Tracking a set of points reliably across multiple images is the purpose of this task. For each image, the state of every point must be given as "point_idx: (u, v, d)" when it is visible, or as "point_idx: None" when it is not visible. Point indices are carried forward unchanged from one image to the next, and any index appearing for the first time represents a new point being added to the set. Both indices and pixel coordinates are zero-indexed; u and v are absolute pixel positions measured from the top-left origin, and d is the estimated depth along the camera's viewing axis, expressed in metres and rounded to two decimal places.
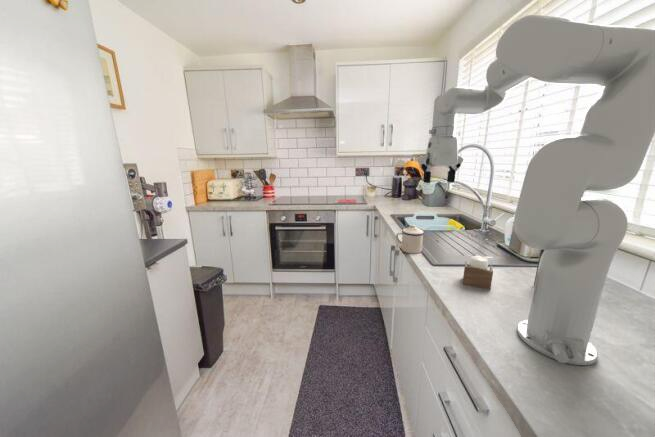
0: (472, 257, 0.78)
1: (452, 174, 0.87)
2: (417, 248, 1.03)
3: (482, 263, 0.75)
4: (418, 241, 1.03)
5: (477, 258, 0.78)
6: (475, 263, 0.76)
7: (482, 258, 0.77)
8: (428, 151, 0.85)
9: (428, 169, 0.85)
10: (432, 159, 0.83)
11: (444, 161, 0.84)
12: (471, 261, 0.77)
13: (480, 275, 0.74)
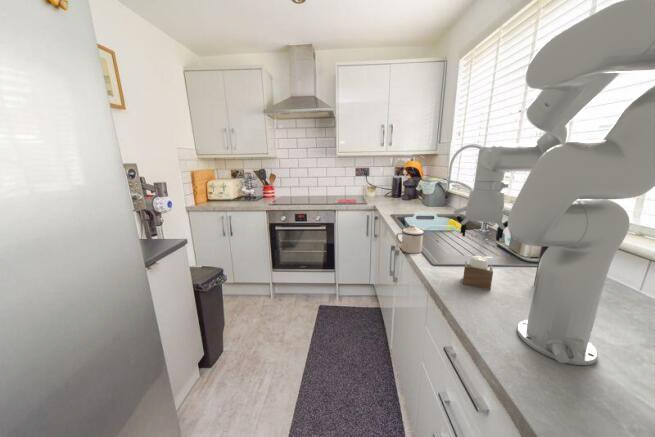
0: (472, 257, 0.78)
1: None
2: (417, 248, 1.03)
3: (482, 263, 0.75)
4: (418, 241, 1.03)
5: (477, 258, 0.78)
6: (475, 264, 0.76)
7: (482, 258, 0.77)
8: (503, 207, 0.75)
9: None
10: None
11: None
12: (471, 261, 0.77)
13: (480, 275, 0.74)
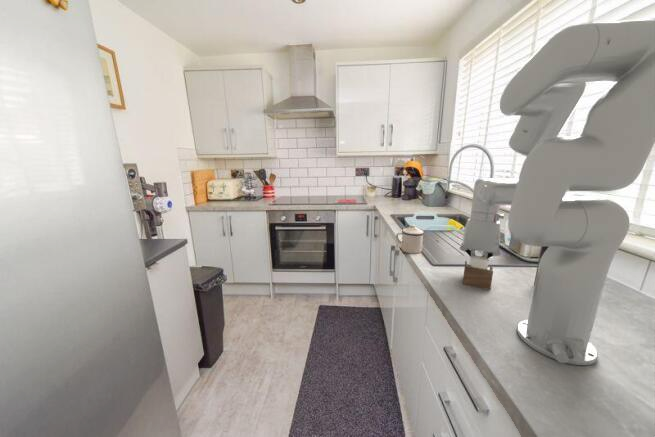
0: (472, 257, 0.78)
1: None
2: (417, 248, 1.03)
3: (482, 263, 0.75)
4: (418, 241, 1.03)
5: (477, 258, 0.78)
6: (475, 263, 0.76)
7: (482, 258, 0.77)
8: None
9: None
10: None
11: None
12: (471, 261, 0.77)
13: (480, 275, 0.74)
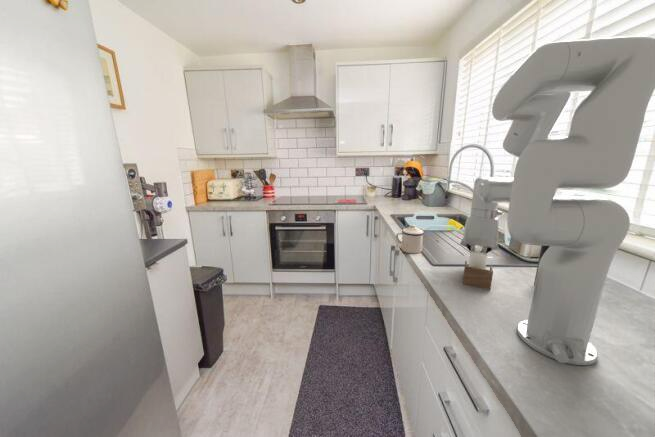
0: (472, 252, 0.83)
1: None
2: (417, 248, 1.03)
3: (482, 257, 0.80)
4: (418, 241, 1.03)
5: (477, 252, 0.82)
6: (475, 257, 0.81)
7: (481, 252, 0.82)
8: None
9: None
10: None
11: None
12: (471, 255, 0.82)
13: (480, 275, 0.74)
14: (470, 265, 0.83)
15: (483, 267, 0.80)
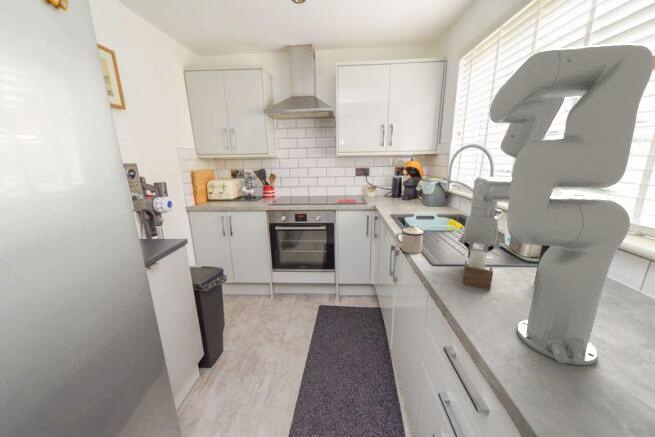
0: (472, 250, 0.85)
1: None
2: (417, 248, 1.03)
3: (481, 255, 0.82)
4: (418, 241, 1.03)
5: (477, 250, 0.84)
6: (474, 255, 0.83)
7: (481, 250, 0.84)
8: None
9: None
10: None
11: None
12: (471, 253, 0.84)
13: (480, 275, 0.74)
14: (470, 263, 0.85)
15: (483, 265, 0.82)
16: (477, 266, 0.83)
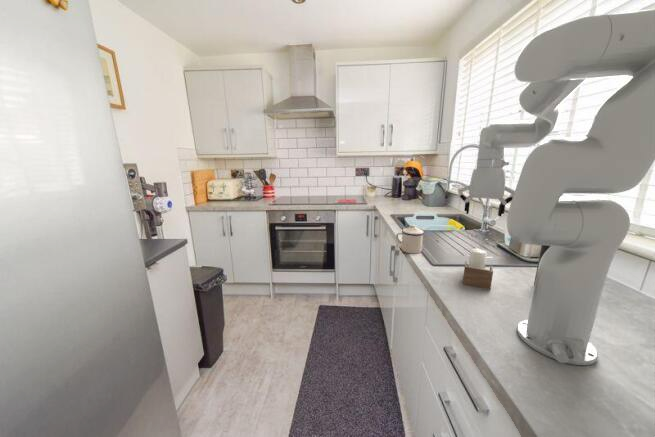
0: (472, 250, 0.85)
1: None
2: (417, 248, 1.03)
3: (481, 255, 0.82)
4: (418, 241, 1.03)
5: (476, 250, 0.84)
6: (474, 255, 0.83)
7: (481, 250, 0.84)
8: None
9: None
10: None
11: None
12: (471, 253, 0.84)
13: (480, 275, 0.74)
14: (470, 263, 0.85)
15: (483, 265, 0.82)
16: (477, 266, 0.83)
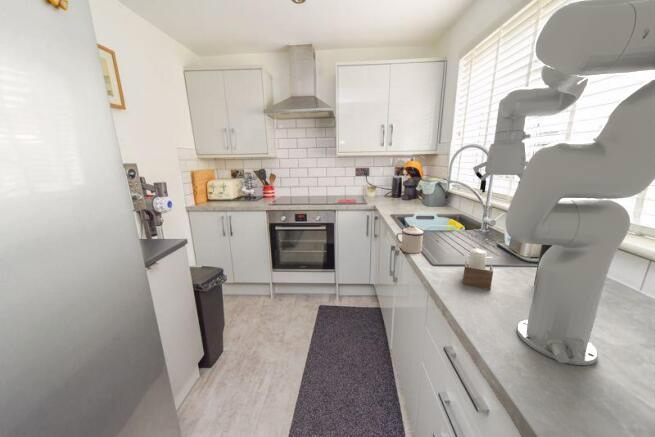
0: (472, 250, 0.85)
1: None
2: (417, 248, 1.03)
3: (481, 255, 0.82)
4: (418, 241, 1.03)
5: (476, 250, 0.84)
6: (474, 255, 0.83)
7: (481, 250, 0.84)
8: None
9: None
10: None
11: None
12: (471, 253, 0.84)
13: (480, 275, 0.74)
14: (470, 263, 0.85)
15: (483, 265, 0.82)
16: (477, 266, 0.83)
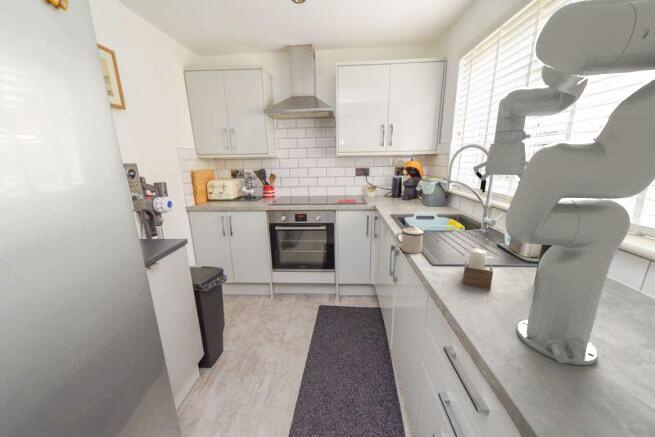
0: (472, 250, 0.85)
1: None
2: (417, 248, 1.03)
3: (481, 255, 0.82)
4: (418, 241, 1.03)
5: (477, 250, 0.84)
6: (474, 255, 0.83)
7: (481, 250, 0.84)
8: None
9: None
10: None
11: None
12: (471, 253, 0.84)
13: (480, 275, 0.74)
14: (470, 263, 0.85)
15: (483, 265, 0.82)
16: (477, 266, 0.83)
